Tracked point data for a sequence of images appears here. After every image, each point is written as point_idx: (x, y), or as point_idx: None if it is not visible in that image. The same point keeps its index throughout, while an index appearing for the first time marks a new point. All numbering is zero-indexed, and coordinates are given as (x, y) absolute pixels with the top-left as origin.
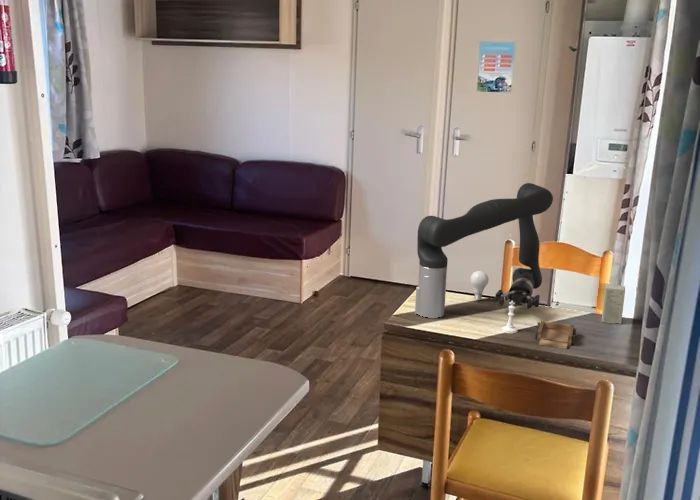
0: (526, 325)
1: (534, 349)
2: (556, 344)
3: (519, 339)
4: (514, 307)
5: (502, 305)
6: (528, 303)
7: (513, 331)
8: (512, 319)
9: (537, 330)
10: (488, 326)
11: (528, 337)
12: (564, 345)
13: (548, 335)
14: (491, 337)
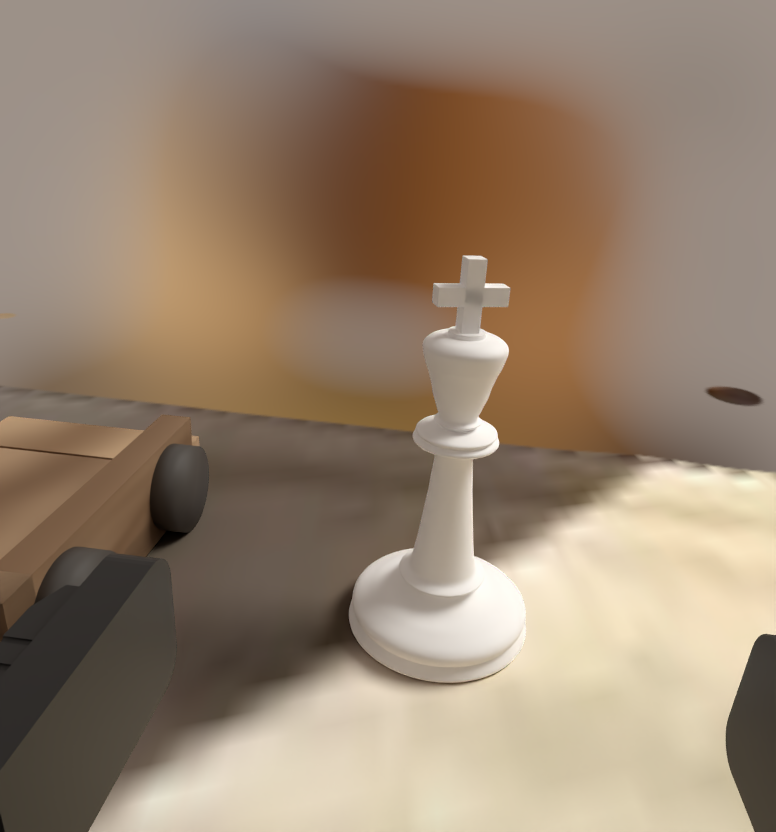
0: (188, 826)
1: (253, 415)
2: (76, 425)
3: (340, 493)
4: (429, 335)
5: (732, 753)
6: (129, 560)
7: (394, 554)
8: (427, 493)
9: (179, 444)
10: (696, 671)
11: (254, 527)
12: (18, 422)
13: (59, 506)
14: (560, 491)
